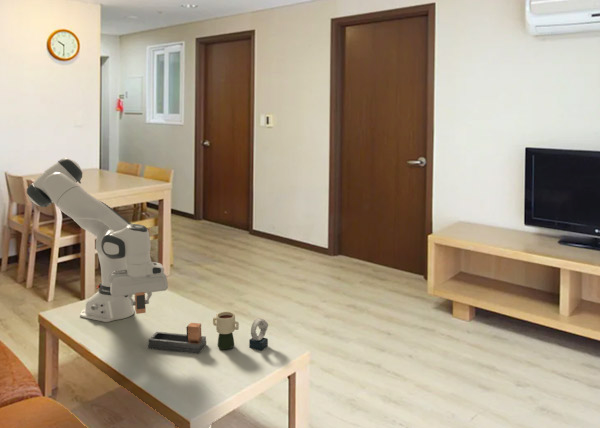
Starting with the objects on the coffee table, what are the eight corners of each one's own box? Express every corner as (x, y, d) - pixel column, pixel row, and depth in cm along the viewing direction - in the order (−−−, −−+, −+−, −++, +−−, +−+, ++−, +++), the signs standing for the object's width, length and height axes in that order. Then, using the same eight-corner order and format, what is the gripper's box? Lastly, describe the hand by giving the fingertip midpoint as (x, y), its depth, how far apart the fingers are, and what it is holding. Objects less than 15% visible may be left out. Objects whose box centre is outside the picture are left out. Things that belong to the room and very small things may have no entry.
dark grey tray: (148, 348, 191) (147, 325, 189) (157, 339, 199) (156, 316, 197) (198, 354, 188) (198, 330, 186) (206, 344, 196) (205, 321, 194)
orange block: (135, 309, 191) (134, 289, 189) (144, 308, 192) (143, 288, 191) (136, 314, 187) (136, 293, 185) (145, 313, 188) (145, 292, 186)
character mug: (243, 345, 195) (243, 314, 192) (233, 353, 189) (233, 321, 186) (218, 340, 199) (218, 309, 196) (208, 348, 192) (208, 316, 190)
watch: (270, 344, 197) (270, 317, 195) (259, 352, 190) (259, 325, 188) (258, 340, 199) (258, 314, 197) (246, 349, 192) (246, 322, 190)
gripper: (109, 274, 179) (111, 311, 182) (168, 268, 188) (169, 303, 191) (107, 269, 185) (109, 305, 188) (165, 263, 193) (166, 297, 196)
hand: (140, 304), depth 189 cm, fingers closed on orange block, 3 cm apart
